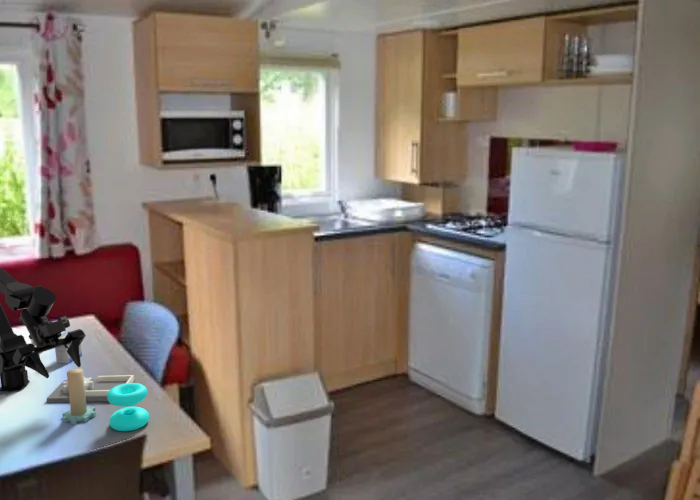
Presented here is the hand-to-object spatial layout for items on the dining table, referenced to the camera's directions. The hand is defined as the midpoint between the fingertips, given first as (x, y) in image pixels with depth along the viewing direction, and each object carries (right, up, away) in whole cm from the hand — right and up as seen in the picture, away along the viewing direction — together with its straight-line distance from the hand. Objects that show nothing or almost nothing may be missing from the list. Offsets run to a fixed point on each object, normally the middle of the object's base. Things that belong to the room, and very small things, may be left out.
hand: (64, 371), depth 179 cm
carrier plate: (+2, -9, +15) cm, 17 cm away
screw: (-28, -3, +43) cm, 51 cm away
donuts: (+20, -13, -5) cm, 24 cm away
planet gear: (+4, -12, -1) cm, 13 cm away
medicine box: (-16, -4, +41) cm, 44 cm away
